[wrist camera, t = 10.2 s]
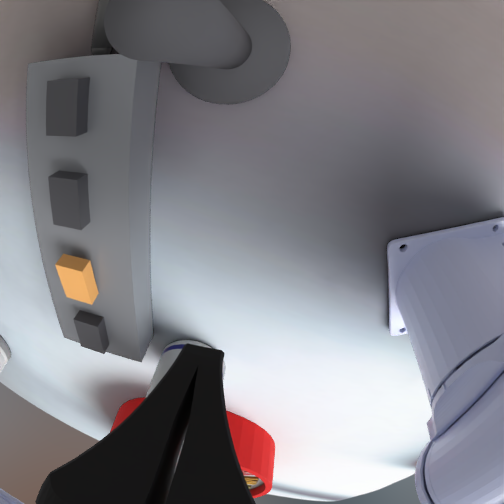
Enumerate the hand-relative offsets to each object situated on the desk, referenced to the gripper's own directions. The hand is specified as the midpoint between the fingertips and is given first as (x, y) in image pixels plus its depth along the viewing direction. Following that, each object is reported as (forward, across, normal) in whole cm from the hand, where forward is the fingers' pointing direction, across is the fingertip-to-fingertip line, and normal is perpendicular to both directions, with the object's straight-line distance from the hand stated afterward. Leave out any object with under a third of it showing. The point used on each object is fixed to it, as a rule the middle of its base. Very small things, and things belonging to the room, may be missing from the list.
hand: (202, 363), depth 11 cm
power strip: (+9, +9, -4) cm, 13 cm away
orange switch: (+6, +9, +2) cm, 11 cm away
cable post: (+9, +2, -11) cm, 14 cm away
